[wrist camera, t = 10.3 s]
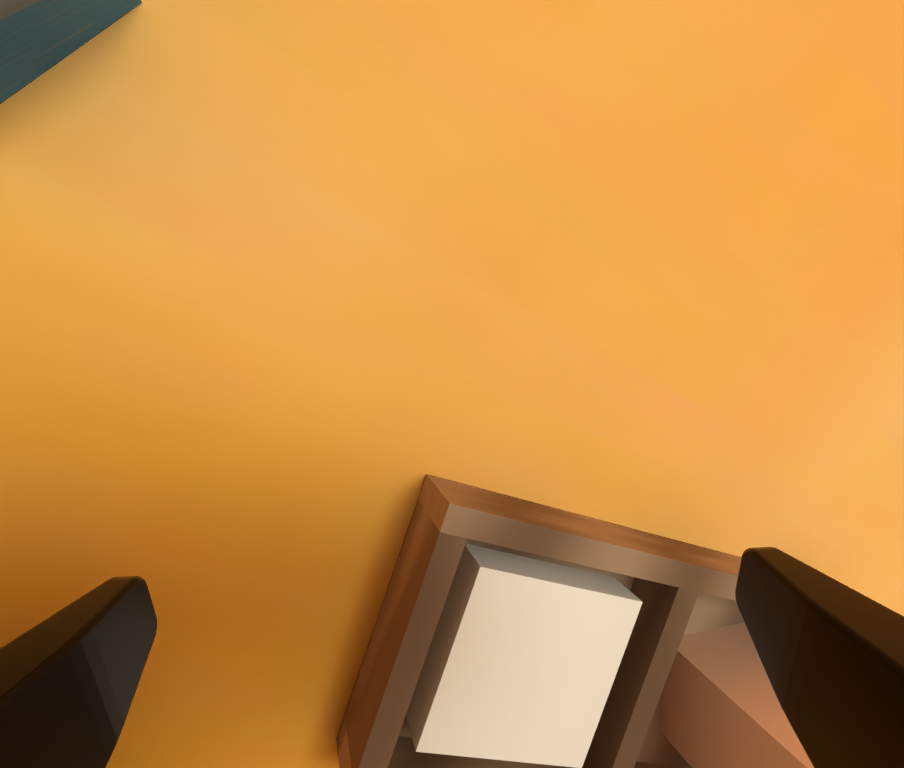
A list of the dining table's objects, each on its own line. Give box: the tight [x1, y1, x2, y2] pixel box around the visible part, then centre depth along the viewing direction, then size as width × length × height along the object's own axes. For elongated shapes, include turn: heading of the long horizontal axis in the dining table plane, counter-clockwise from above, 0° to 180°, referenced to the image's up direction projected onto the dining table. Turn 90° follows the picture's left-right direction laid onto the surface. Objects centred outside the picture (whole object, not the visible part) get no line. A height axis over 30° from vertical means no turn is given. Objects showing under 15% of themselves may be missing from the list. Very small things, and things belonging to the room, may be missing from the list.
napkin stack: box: [406, 544, 643, 768], centre depth 22 cm, size 7×7×2 cm
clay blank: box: [660, 623, 814, 768], centre depth 21 cm, size 4×4×10 cm
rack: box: [336, 474, 744, 768], centre depth 23 cm, size 21×11×3 cm, turn 70°
